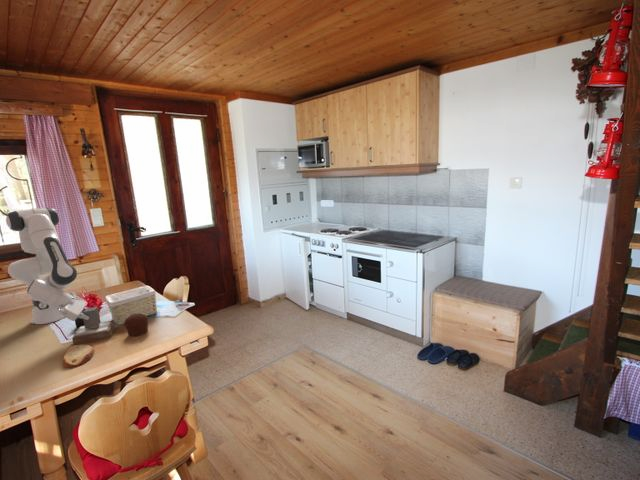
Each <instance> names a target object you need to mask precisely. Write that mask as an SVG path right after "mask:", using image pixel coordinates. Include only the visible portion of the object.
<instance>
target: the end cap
mask: <svg viewBox="0 0 640 480" xmlns="http://www.w3.org/2000/svg"><path fill="white" fill-rule="evenodd" d="M74 323H75V327H76V329H78V328H79V327H81V326H84V321H83V318H79V317H77V319H76V320H75V321H74Z"/></svg>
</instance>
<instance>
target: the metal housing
mask: <svg viewBox="0 0 640 480" xmlns="http://www.w3.org/2000/svg"><path fill="white" fill-rule="evenodd" d="M98 308H99V307H98V306H94V307H87V309H84V310H83V311H82V312H81V313H83V314H84V315H88V316H90V317H89V319H88V320H86V319H83V321H84V326H85V329H87V328H92V327H97V326H99V325H100V323H101V322H102V321H101V318H100V312H99V309H98Z"/></svg>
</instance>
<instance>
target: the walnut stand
mask: <svg viewBox="0 0 640 480" xmlns="http://www.w3.org/2000/svg"><path fill="white" fill-rule="evenodd" d="M115 328H116V324H115V322H114V320H113V319H112V320H107V321H101V323H100V325H99V326H97V327H92V328H87V329H85V326H81V327H79V328H77V330H76V331H75V333H74V334H73V336H72V338H71V340H72V344H73V345H72V346H74V345H81V344H85V345H86V344H88V343H93V342H94V343H95V342H97V341H102V340H106V339H107V340H108V339H111V337H112V336H113V333H114V330H115Z"/></svg>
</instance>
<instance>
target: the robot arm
mask: <svg viewBox="0 0 640 480" xmlns="http://www.w3.org/2000/svg"><path fill="white" fill-rule="evenodd" d="M5 223H6V226H7V227H8V228H9V230H11V231H13V232H18V235H19V241H20V246H21V247H20V248H21V250H22V251H24V252H25V253H28V254H33V255H35V256H34V257H29V258H23V259H20V260H16V261H12V262H11V263H10V264H9V265H8V267H7V273H8V275H9V276H10V277H11V278H12V279H14V280H18V281H20V282H22V283H23V284H25V285H26V286H27V290H26V293H27V295H29V296H30V297H31V298H32V299H31V300H32V305H33V308H32V309H31V314H32V320H31V321H30V324H35V325H46V324H50V323H53V322H57V321H60V320H62V319H65V318H66V319H68V320H70V321H73V322H75V320H76V319H77V317H79V318H83V319H86V320H88V319H89V317H90V316H88V315H84V314H83V313H82V311H83V310H84V309H87V308H88V307H86V306H87V304H88V302H87V300H85V299H84V298H81V297H80V296H79V295H76V294H75V293H74V292H72V291H71V292H65V291H64V290H65V289H67V288H68V287H69V286H70V285H71V283H73V282H74V281H75V280H76V279H77V276H78V271H77V269H76V267H75V266H74V265H73V264H72V263H70V261H69V259H68V258H67V256H66V253H65V251H64V249H63V246H62V244H61V242H60V241H61V240H60V238H59V235H58V232H57V229H56V226H57V225H58V224H59V223H60V215H59V213H58V211H57V209H55V208H53V207H46V208H45V207H44V208H43V207H42V208H30V209H29V208H28V209H23V210H14V211H9V212H8V213H7V215H6V217H5ZM47 274H48V275H47ZM42 275H45V276H43V277H40V276H42Z"/></svg>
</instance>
